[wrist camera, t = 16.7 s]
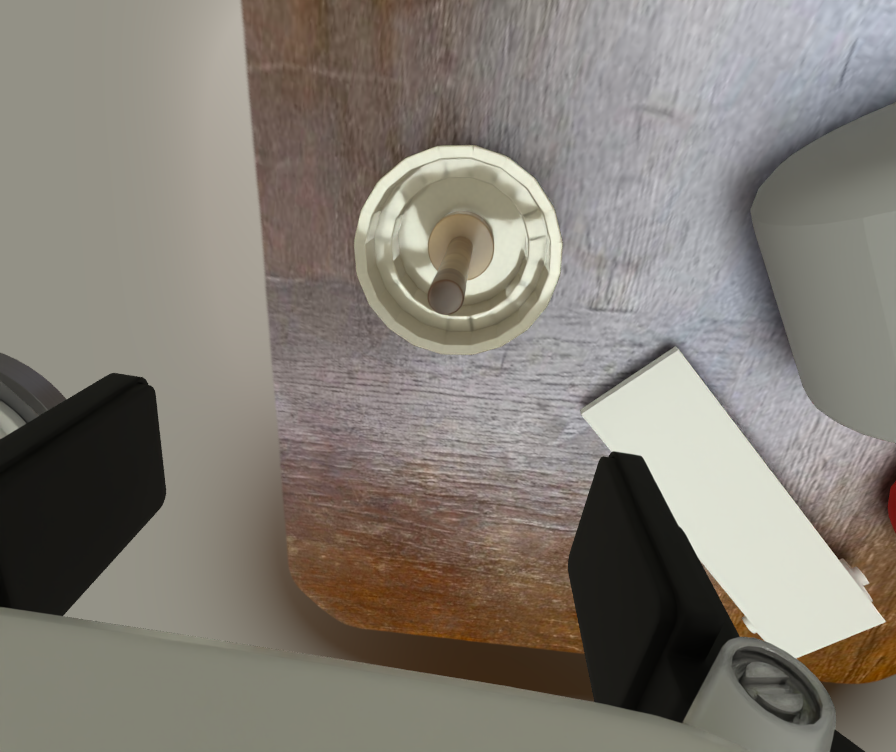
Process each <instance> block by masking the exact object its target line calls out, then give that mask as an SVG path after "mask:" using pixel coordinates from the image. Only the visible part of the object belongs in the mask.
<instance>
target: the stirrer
mask: <svg viewBox="0 0 896 752" xmlns="http://www.w3.org/2000/svg"><path fill="white" fill-rule="evenodd" d="M428 254H429V258H430V261H431V263H432V265H433V266H434V268H435V269H436V270H437V273H436V275H435V277H434V279H433V281H432V284H431V286H430V288H429V291H428V295H427V298H428V303H429V305H430V307H431V308H432V309H433V310H434V311H435V312H437V313H439V314H442V315H450V314H453V313H455V312H457V311H458V310H459V309H460V308H461V307H462V305H463V302H464V297H465V291H466V284H467V281H468V280H471V279H474V278H476V277H478V276H480V275H481V274H482V273H483V272H484V271H485V270H486V269H487V268H488V266H489V265H490V263H491V261H492V258H493V254H494V237H493V233H492V230H491V228H490V226H489V225H488V223H487V222H486V221H485V220H484V219H483V218H482V217H481V216H479V215H478V214H476V213H473V212H470V211H455V212H452V213H449V214H447V215H446V216H444V217H443V218H442V219H441V220H440V221H439V222H438V223H437V224H436V226H435V227H434V229H433V230H432V232H431V234H430V237H429V241H428Z"/></svg>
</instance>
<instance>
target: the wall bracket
mask: <svg viewBox="0 0 896 752" xmlns="http://www.w3.org/2000/svg"><path fill="white" fill-rule="evenodd" d="M580 412H581V415H582V416H583V417H584V419H585V420H586V421H587V422H588V424H589V425H590V426H591V427H592V428H593V430H594V431H595V432H596V433H597V435H598V436H599V437H600V438H601V439H602V441H603V442H604V443H605V444H606V446H607V447H608V448H609V449H610V450H611V452H613V451H615V452H622V453H628V454H634V455H640V456H642V457H643V459H644V460H645V462H646V464H647V466H648V468H649V470H650V472H651V474H652V476H653V478H654V480H655V482H656V483H657V485H658V487H659V489H660V491H661V493H662V495H663V497H664V499H665V501H666V503H667V505H668V507H669V508H670V510H671V512H672V514H673V516H674V518H675V520H676V522H677V524H678V526H679V527H681V528H682V530H683V531H684V532H685V534H686V536H687V538H688V540H689V542H690V543H691V545H692V547H693V549H694V551H695V553H696V555H697V557H698V558H699V560H700V561H701V562H702V563H703V564H704V566H705V567H706V568H707V569H708V571H709V572H710V573H711V574H712V575H713V577H714V578H715V579H716V580H717V582H718V583H719V584H720V585H721V586H722V588H723V589H724V590H725V591H726V593H727V594H728V595H729V596H730V598H731V599H732V600H733V601H734V602H735V604H736V605H737V606H738V607H739V609H740V610H741V611H742V612H743V613H744V615H745V617H742V619H743V621H744V623H745V625H746V626H747V628H748V629H749V630H750V631H751V632H752V633H756V632H757V633H758V634H759V635H760V636H761V637H762V639H763V640H764V641H765V642H768V643H771V644H773V645H774V646H776V647H778V648H780V649H782V650H784V651H786V652H787V653H789V654H790V655H791V656H793V657H794V658H798V657H801V656H803V655H806V654H808V653H811V652H813V651H815V650H818V649H820V648H823V647H825V646H828V645H830V644H833V643H835V642H838V641H840V640H843V639H845V638H847V637H850V636H852V635H855V634H857V633H860V632H862V631H865V630H867V629H870V628H872V627H875V626H877V625H880V624H882V623H884V622H886V621H885V620H884V619H883V617H882V616H881V615H880V613H879V612H878V611H877V609H876V608H875V607H874V606H873V604H872V603H871V602H872V601H873V600H872V598H871V597H870V595H869V594H868V592H867V591H866V589H865V588H864V586H865V585H867V584H869V583H868V581H867V579H866V577H865V576H864V575H863V573H862V572H861V571H860V570H859V569H858V567H857V566H856V567H854V568H852V567H851V566H850V565H849V564H848V563H847V562H846V561H845V560H844V559H843V558H842V559H840V560H838V558H837V557H836V556H835V554H834V553H833V552H832V550H831V549H830V548H829V546H828V545H827V544H826V542H825V541H824V540H823V538H822V537H821V536H820V535H819V533H818V532H817V531H816V529H815V528H814V527H813V525H812V524H811V523H810V521H809V520H808V519H807V517H806V516H805V515H804V514H803V512H802V511H801V510H800V508H799V507H798V506H797V504H796V503H795V502H794V500H793V499H792V498H791V496H790V495H789V494H788V493H787V491H786V490H785V489H784V487H783V486H782V485H781V483H780V482H779V481H778V479H777V478H776V477H775V475H774V474H773V473H772V471H771V470H770V469H769V468H768V466H767V465H766V464H765V462H764V461H763V460H762V458H761V457H760V456H759V454H758V453H757V452H756V450H755V449H754V448H753V447H752V445H751V444H750V443H749V441H748V440H747V439H746V437H745V436H744V435H743V433H742V432H741V431H740V429H739V428H738V427H737V425H736V424H735V423H734V422H733V420H732V419H731V418H730V416H729V415H728V414H727V412H726V411H725V410H724V408H723V407H722V406H721V404H720V403H719V402H718V401H717V399H716V398H715V397H714V395H713V394H712V393H711V391H710V390H709V389H708V387H707V386H706V385H705V383H704V382H703V381H702V380H701V378H700V377H699V376H698V374H697V373H696V372H695V370H694V369H693V368H692V366H691V365H690V364H689V362H688V361H687V360H686V358H685V357H684V356H683V355H682V353H681V352H680V351H679V349H678V348H677V347H676V346H675V347H674V348H672V349H671V350H669V351H668V352H666V353H665V354H663V355H662V356H660V357H659V358H657V359H656V360H654V361H653V362H651V363H650V364H648V365H647V366H645V367H644V368H642V369H641V370H639V371H638V372H636V373H635V374H633V375H632V376H630V377H629V378H627V379H626V380H624V381H623V382H621V383H620V384H618V385H617V386H615V387H614V388H612V389H611V390H609V391H608V392H606V393H605V394H603V395H602V396H600V397H599V398H597V399H596V400H594V401H593V402H591V403H590V404H588V405H587V406H585V407H584V408H582V409H581V410H580Z"/></svg>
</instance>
